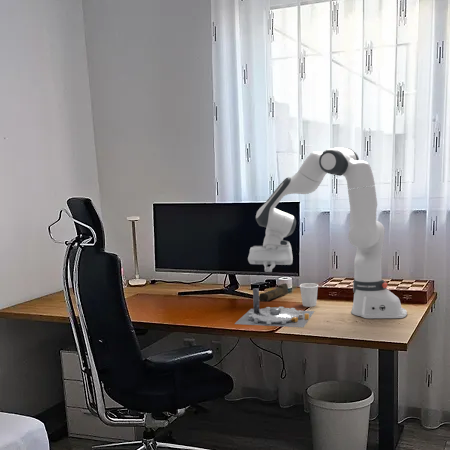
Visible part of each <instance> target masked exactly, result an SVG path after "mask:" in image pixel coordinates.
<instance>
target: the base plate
mask: <svg viewBox="0 0 450 450" xmlns="http://www.w3.org/2000/svg"><path fill="white" fill-rule="evenodd" d="M253 311H254V308H250V309H249V310H248V311H247V312H246V313H245V314H243V315H242V316H241V317H240V318H239V319H238V320H237V321H236V322H235V323H234V325H242V326H243V325H246V326H265V327H266V326H267V327H269V326H270V327H285V328H286V327H288V328H305V326H306V325H307V323H308V322H309V320H310V319H311V317H312V315H314V313H315V311H314V310H301V311H302V312H303V319H298V321H297V322H287V323H286V324H281V323H275V324H273V323H272V324H267V323H261V322H259V323H255V322H254V320H249V319H248V313H249V312H253Z"/></svg>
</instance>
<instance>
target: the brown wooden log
mask: <svg viewBox="0 0 450 450" xmlns="http://www.w3.org/2000/svg"><path fill="white" fill-rule="evenodd" d="M288 293H289V287H288V284H287V283H285V282H284V283H282V284H278V285H277V287H276V288H274V289H271V290H268V291H265V292H261V293H259V302H263V303H266V302H270V300H273V299H276V298H278V297H284V296H286V295H287V294H288Z"/></svg>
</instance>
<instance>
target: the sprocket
mask: <svg viewBox="0 0 450 450" xmlns="http://www.w3.org/2000/svg"><path fill="white" fill-rule="evenodd" d="M259 295H260V290H259V288H252V296H253V297H252V300H253V309H254V311H253V312H249V313H248V319H249V320H254V322H255V323H259V322H261V323H267V324H272V323H273V324H275V323H281V324H286V323H287V322H297V321H298V319H303V312H302V311H303V310H297V309H296V308H295V307H284V306H276V307H275V306H273V307H270V306H266V307H264V308H260V300H259Z"/></svg>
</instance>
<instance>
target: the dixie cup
mask: <svg viewBox="0 0 450 450" xmlns="http://www.w3.org/2000/svg"><path fill="white" fill-rule="evenodd" d="M299 289H300V295H301V303H302V306H303V307H307V308H308V307H309V308H311V307H312V308H313V307H316V306H317V300H318V289H319V284H318V283H308V282H307V283H301V284H300V285H299Z"/></svg>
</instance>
